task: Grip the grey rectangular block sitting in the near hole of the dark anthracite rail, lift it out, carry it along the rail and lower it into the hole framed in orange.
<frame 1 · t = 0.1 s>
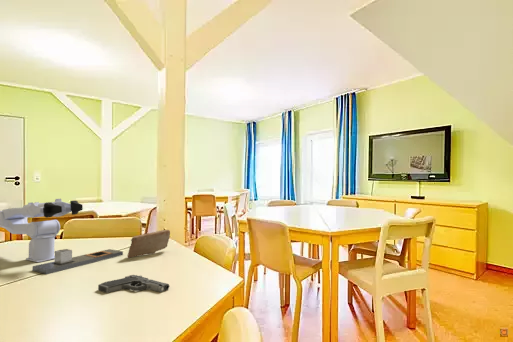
hand: (71, 208, 112), 22 cm above the table, tool horizontal, fingers open, 7 cm apart
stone: (149, 255, 128), on the table
grey rectangular block: (63, 266, 110), resting in rail
rail: (81, 262, 116), on the table
handgun: (134, 291, 86), on the table
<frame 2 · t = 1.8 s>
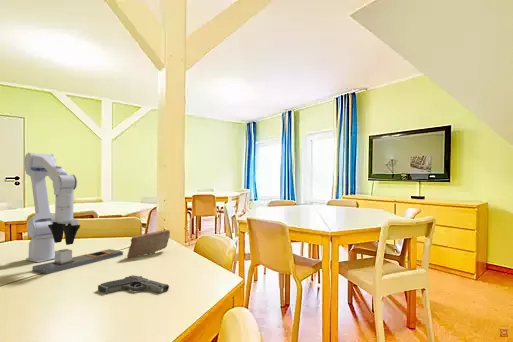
hand: (63, 243, 110), 9 cm above the table, tool pointing down, fingers open, 7 cm apart
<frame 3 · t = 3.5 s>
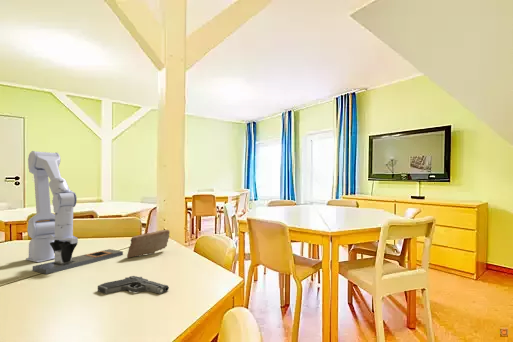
hand: (63, 261, 110), 2 cm above the table, tool pointing down, fingers closed on grey rectangular block, 4 cm apart
grey rectangular block: (63, 266, 110), resting in rail, touching gripper
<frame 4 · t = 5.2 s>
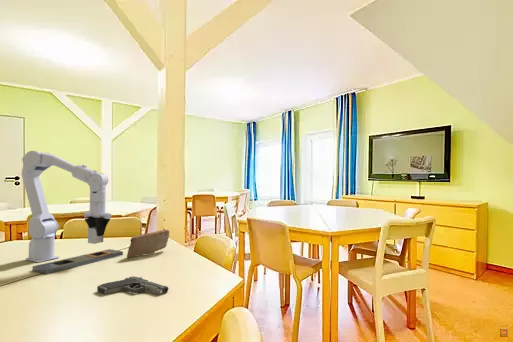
hand: (97, 235, 122), 9 cm above the table, tool pointing down, fingers closed on grey rectangular block, 4 cm apart
grey rectangular block: (95, 242, 121), point 7 cm above the table, touching gripper
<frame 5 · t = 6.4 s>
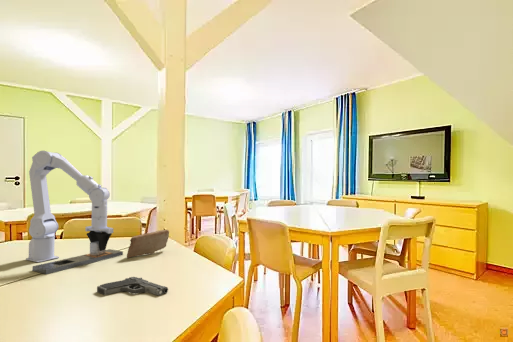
hand: (98, 249, 122), 3 cm above the table, tool pointing down, fingers closed on grey rectangular block, 4 cm apart
grey rectangular block: (97, 256, 122), point 1 cm above the table, touching gripper
when the fingers open (3 cm above the table, at t = 7.3 s): grey rectangular block stays where it is, resting in rail.
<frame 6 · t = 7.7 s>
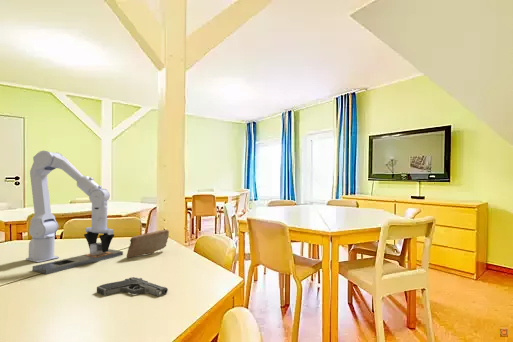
hand: (98, 250, 122), 3 cm above the table, tool pointing down, fingers open, 7 cm apart
grey rectangular block: (97, 258, 122), resting in rail
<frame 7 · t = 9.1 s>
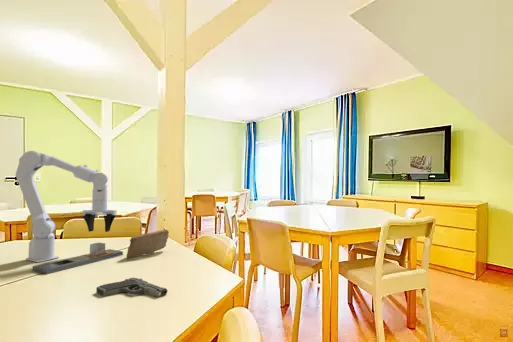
hand: (99, 231, 129), 10 cm above the table, tool pointing down, fingers open, 7 cm apart
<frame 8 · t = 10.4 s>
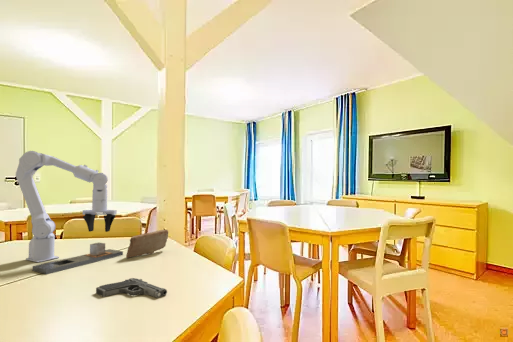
hand: (99, 231, 129), 10 cm above the table, tool pointing down, fingers open, 7 cm apart
at the end: grey rectangular block 0.6 cm from the target spot on the rail, point 0.0 cm above the rail's base; grey rectangular block tilted 0°; the gripper is holding nothing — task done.
